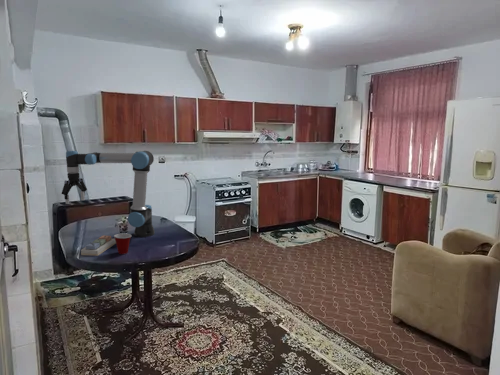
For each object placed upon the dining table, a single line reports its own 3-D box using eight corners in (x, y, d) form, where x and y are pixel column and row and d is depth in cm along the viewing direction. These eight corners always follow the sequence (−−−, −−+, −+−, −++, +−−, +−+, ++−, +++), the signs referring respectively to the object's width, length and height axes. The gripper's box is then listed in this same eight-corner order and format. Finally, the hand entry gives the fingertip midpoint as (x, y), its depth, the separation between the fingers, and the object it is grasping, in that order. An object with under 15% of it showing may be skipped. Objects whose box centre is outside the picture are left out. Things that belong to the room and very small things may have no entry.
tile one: (111, 238, 242) (111, 235, 241) (107, 241, 236) (107, 238, 235) (103, 238, 242) (102, 235, 242) (98, 241, 236) (98, 237, 236)
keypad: (116, 243, 244) (115, 238, 243) (97, 255, 219) (97, 250, 218) (101, 242, 244) (100, 237, 244) (81, 254, 220) (80, 249, 219)
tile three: (99, 246, 226) (99, 242, 226) (94, 249, 220) (94, 245, 220) (90, 245, 226) (90, 242, 226) (85, 248, 220) (85, 245, 220)
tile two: (105, 242, 234) (105, 239, 233) (101, 245, 228) (101, 241, 228) (97, 242, 234) (97, 238, 234) (92, 244, 228) (92, 241, 228)
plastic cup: (135, 252, 226) (134, 235, 224) (120, 256, 218) (119, 238, 216) (126, 248, 233) (126, 231, 231) (111, 252, 225) (110, 235, 223)
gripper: (83, 170, 257) (84, 198, 261) (54, 174, 234) (56, 204, 238) (90, 171, 255) (92, 199, 258) (62, 174, 232) (64, 205, 235)
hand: (75, 202), depth 248 cm, fingers open, 13 cm apart
